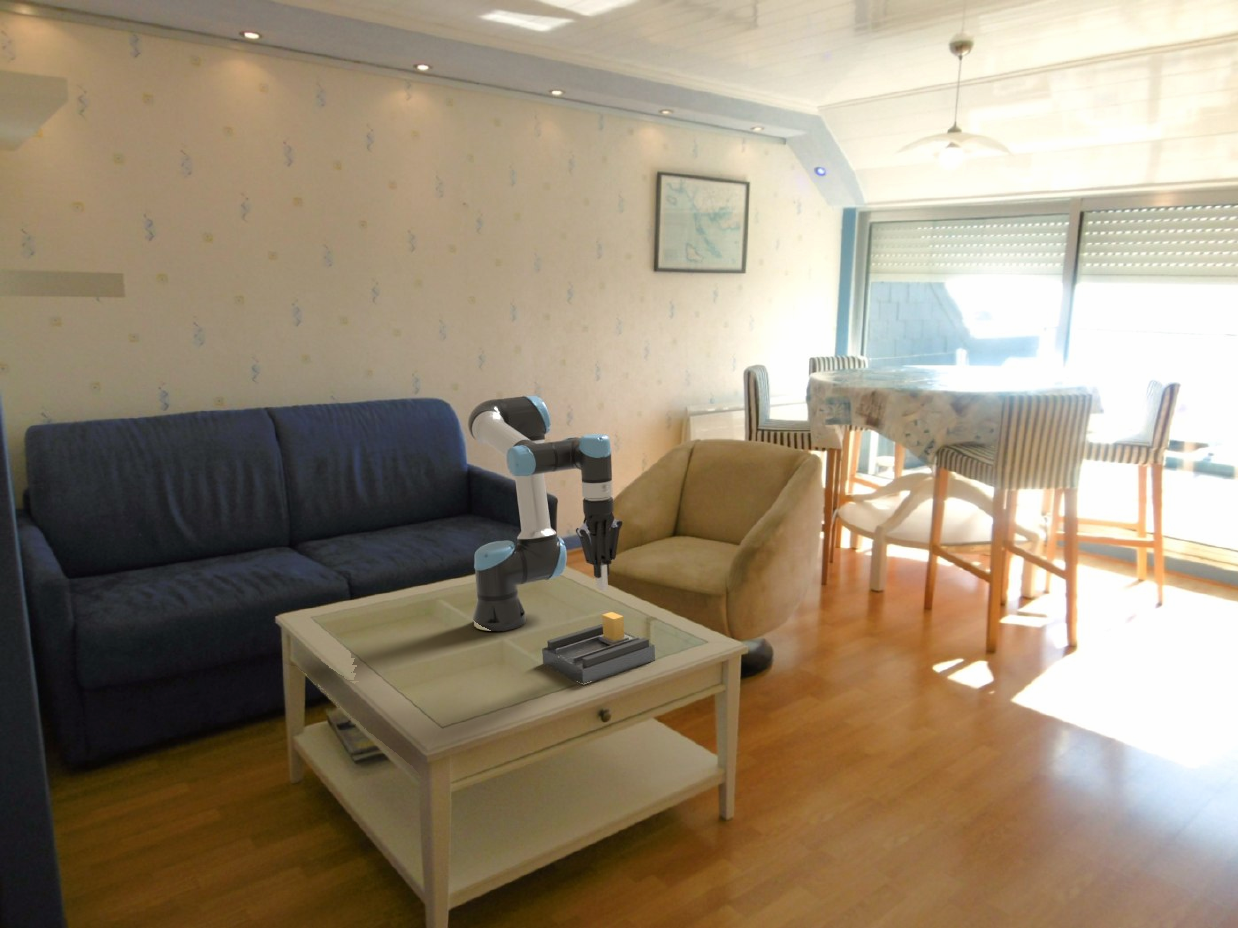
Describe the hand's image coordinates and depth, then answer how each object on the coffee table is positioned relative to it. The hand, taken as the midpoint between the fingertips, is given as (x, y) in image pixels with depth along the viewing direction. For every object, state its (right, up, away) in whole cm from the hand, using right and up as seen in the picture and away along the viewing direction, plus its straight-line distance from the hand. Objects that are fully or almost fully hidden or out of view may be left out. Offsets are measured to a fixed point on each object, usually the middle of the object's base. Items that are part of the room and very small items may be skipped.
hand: (602, 588), depth 220 cm
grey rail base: (-1, -19, +1) cm, 19 cm away
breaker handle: (+3, -14, +4) cm, 15 cm away
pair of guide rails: (-1, -15, +1) cm, 15 cm away
